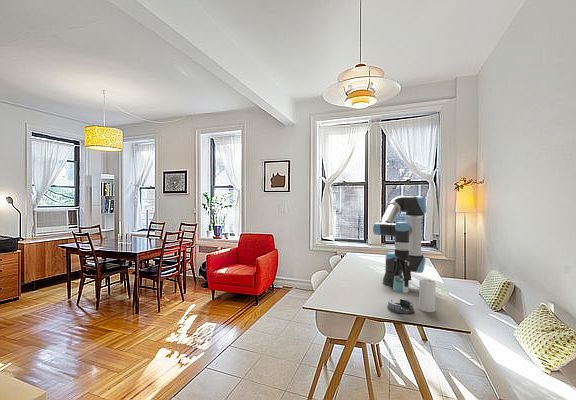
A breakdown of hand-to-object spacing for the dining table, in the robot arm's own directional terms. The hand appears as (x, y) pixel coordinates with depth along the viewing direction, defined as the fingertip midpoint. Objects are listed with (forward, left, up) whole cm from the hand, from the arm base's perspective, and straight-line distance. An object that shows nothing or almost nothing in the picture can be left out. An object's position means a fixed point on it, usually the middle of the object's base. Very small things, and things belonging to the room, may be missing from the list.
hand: (400, 289), depth 162 cm
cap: (0, 0, 0) cm, 0 cm away
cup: (-15, +2, -11) cm, 19 cm away
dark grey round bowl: (0, 0, -11) cm, 11 cm away
